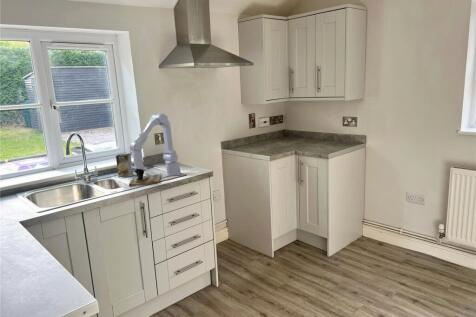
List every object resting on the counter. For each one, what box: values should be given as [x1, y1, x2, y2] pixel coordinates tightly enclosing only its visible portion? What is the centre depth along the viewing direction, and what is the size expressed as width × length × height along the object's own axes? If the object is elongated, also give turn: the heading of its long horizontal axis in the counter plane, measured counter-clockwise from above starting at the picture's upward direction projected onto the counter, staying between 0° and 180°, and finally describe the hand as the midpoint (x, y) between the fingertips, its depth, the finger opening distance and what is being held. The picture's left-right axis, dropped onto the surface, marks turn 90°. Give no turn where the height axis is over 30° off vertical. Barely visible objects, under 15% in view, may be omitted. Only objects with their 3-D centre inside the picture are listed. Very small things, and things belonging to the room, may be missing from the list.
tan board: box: [128, 173, 162, 187], centre depth 240 cm, size 19×22×1 cm
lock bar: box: [134, 173, 149, 182], centre depth 236 cm, size 10×3×2 cm, turn 146°
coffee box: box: [115, 153, 134, 178], centre depth 257 cm, size 9×6×16 cm
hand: (141, 180), depth 233 cm, fingers closed
